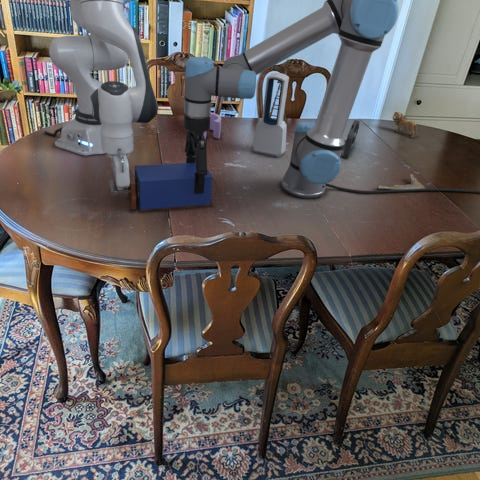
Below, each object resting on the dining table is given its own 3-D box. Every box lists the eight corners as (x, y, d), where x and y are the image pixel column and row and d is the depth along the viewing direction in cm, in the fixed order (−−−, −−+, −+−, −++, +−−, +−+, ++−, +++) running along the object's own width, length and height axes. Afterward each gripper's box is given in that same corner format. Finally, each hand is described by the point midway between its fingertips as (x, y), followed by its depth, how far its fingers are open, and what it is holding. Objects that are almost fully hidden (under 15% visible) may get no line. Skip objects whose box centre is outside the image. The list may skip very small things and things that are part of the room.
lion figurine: (387, 130, 224) (392, 111, 219) (391, 127, 228) (397, 109, 223) (416, 139, 217) (422, 120, 212) (420, 136, 220) (426, 118, 215)
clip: (182, 123, 206) (183, 107, 202) (209, 122, 210) (210, 106, 207) (197, 140, 191) (197, 123, 187) (225, 138, 195) (226, 122, 191)
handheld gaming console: (349, 160, 187) (354, 136, 182) (342, 158, 188) (347, 134, 183) (355, 142, 206) (361, 119, 201) (349, 140, 207) (354, 118, 201)
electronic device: (285, 152, 188) (297, 76, 172) (280, 158, 182) (292, 80, 166) (256, 146, 191) (264, 70, 175) (250, 152, 185) (258, 74, 168)
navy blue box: (140, 212, 138) (139, 181, 133) (135, 195, 147) (134, 165, 141) (210, 206, 145) (212, 176, 140) (201, 190, 154) (203, 162, 148)
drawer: (112, 210, 136) (111, 185, 131) (109, 195, 143) (107, 170, 139) (198, 203, 144) (199, 179, 139) (191, 189, 151) (192, 166, 147)
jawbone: (429, 189, 172) (431, 184, 171) (394, 201, 161) (396, 196, 160) (410, 177, 177) (412, 172, 176) (375, 189, 167) (376, 184, 165)
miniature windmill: (283, 131, 209) (293, 61, 193) (265, 128, 210) (273, 58, 194) (285, 124, 217) (296, 57, 200) (268, 122, 218) (276, 54, 201)
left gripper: (134, 157, 123) (136, 203, 130) (124, 130, 139) (126, 173, 147) (109, 158, 121) (112, 205, 128) (102, 131, 137) (105, 174, 145)
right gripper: (221, 129, 125) (216, 201, 137) (200, 102, 144) (197, 168, 155) (194, 129, 123) (191, 203, 135) (175, 102, 141) (174, 169, 153)
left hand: (120, 187), depth 138 cm, fingers closed
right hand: (194, 184), depth 145 cm, fingers closed on navy blue box, 11 cm apart
